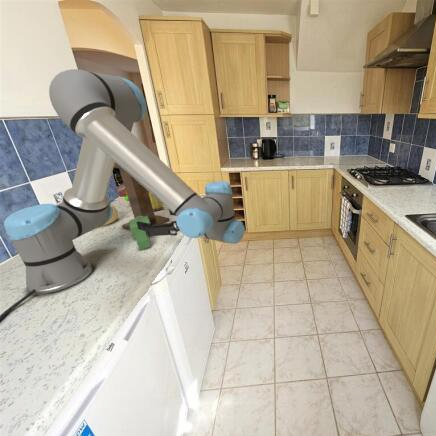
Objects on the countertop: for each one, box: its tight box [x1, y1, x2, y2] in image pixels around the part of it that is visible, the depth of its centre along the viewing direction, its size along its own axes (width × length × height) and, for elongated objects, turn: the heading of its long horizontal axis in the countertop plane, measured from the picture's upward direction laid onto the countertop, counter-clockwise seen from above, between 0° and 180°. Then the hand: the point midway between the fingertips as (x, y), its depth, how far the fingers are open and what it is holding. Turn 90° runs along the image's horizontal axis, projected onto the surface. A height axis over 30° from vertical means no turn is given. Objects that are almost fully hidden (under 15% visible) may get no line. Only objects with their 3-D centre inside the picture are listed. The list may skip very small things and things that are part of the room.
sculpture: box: [103, 203, 119, 226], centre depth 116 cm, size 12×12×11 cm
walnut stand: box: [113, 162, 170, 230], centre depth 109 cm, size 14×14×30 cm
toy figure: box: [129, 216, 151, 251], centre depth 101 cm, size 7×23×5 cm, turn 31°
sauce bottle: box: [148, 191, 164, 212], centre depth 129 cm, size 6×6×20 cm
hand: (155, 217), depth 89 cm, fingers open, 13 cm apart
